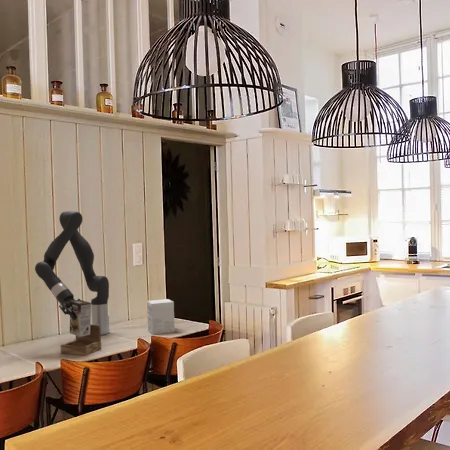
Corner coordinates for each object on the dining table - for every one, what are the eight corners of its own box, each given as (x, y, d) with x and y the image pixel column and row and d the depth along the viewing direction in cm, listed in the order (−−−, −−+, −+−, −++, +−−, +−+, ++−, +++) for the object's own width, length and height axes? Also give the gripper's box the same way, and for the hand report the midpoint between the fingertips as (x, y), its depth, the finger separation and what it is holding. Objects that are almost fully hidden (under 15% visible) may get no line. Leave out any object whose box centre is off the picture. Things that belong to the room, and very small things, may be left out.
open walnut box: (77, 347, 251) (76, 323, 251) (101, 348, 246) (100, 325, 246) (61, 353, 239) (60, 328, 239) (85, 355, 234) (84, 330, 234)
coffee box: (68, 333, 242) (69, 301, 242) (80, 331, 247) (80, 299, 247) (79, 337, 237) (80, 304, 236) (90, 334, 242) (91, 302, 241)
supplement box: (169, 327, 292) (168, 298, 292) (175, 332, 279) (174, 301, 279) (147, 330, 287) (146, 300, 287) (152, 334, 275) (151, 303, 275)
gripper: (56, 290, 238) (76, 314, 234) (75, 286, 252) (94, 309, 247) (48, 300, 240) (67, 325, 236) (67, 296, 253) (86, 319, 249)
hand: (81, 317), depth 242 cm, fingers closed on coffee box, 8 cm apart
